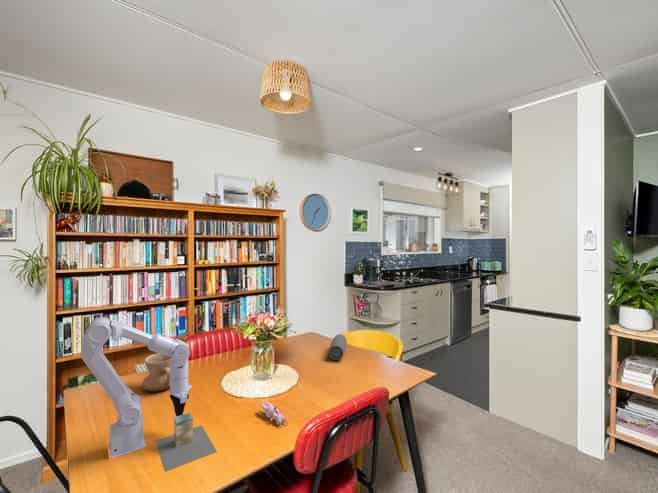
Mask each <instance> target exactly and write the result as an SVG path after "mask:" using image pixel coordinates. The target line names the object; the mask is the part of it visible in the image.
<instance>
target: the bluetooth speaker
mask: <svg viewBox="0 0 658 493" xmlns="http://www.w3.org/2000/svg"><path fill="white" fill-rule="evenodd" d="M347 343H348V342H347V337H346V336H345V335H343V334H340V333H339V334H337V335H335V336H334V337H333V339H332V341H331V343H330V346H329V350H328V353H329V354H328V355H329V357H330V358H331V359H332V360H336V361H337V360H341V359H342V357H343V356H344V354H345V352H346V350H347Z"/></svg>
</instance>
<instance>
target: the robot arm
mask: <svg viewBox="0 0 658 493" xmlns="http://www.w3.org/2000/svg"><path fill="white" fill-rule="evenodd" d="M110 337H111V340H112V341H114V340H117V339H120V338H124V339H127V340H130V341H134V342H137V343H140V344H144V345H146V347H147V348H148V350H149V351H151V352H154V353H156V354H158V353H160V354H162V355H165V356H171V365H170V388H169V394H170V395H169V397H170V400H171V402H172V405H173V410H174V415H175V417H177V416H181V415H184V411H185V407H186V404H187V402H188V400H189V398H190V394H189V390H191V389H192V388H193V387H192V384H191V385H190V384H189V357H190V354H191V352H190V348H189V346H188V344H187V343H186V342H184V341H183V340H181V339H178V338H171V337H169V336H167V334H166V333H164V332H162V333H155V334H150V333H147V332H145V331H142V330H140V329H138V328H136V327H134V326H132V325H129V324H127V323H123V322H122V321H119V320H116V319H110V318H109V317H105V316H99V317H97V318H94V319H93V320H91V322H90V324H89V325H88V327H87V329H86V331H85V333H84V334H83V336H82V344H81V350H80V358H81V360H82V361H83V362H84V363H85V365H86V366H87V368H88V369H89V370H90V372H91V373H92V375H93V376H94V377H95V378H96V380H97V382H98V383H99V384H100V385H101V387H102V389H103V390H104V391H105V392H106V393H107V395H108V397H109V398H110V399H111V400H112V402H113V404H114V408H115V411H116V412H117V414H118V419H117V421H116V422H114V423H112V424H110V425H109V443H108V450H109V455H110V459H115V458H116V457H120V456H123V455H126V454H129V453H132V452H136V451H138V450H141V449H145V448H146V440H145V437H144V413H143V410H142V397H141V396H140V395H139V394H137V393H135V392H133V390H132V389H131V388H129V387H128V386H127V385H126V383H125V382H124V381H123V379H122V378H121V377H120V375H119V374H118V373H117V371H116V369H115V368H114V367H113V365H112V364H111V362H110V361H109V359H108V358H107V357H106V355H105V354H104V352H103V351H102V349H103V348H104V345H105V343H107V341H108V340H109V339H110Z"/></svg>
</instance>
